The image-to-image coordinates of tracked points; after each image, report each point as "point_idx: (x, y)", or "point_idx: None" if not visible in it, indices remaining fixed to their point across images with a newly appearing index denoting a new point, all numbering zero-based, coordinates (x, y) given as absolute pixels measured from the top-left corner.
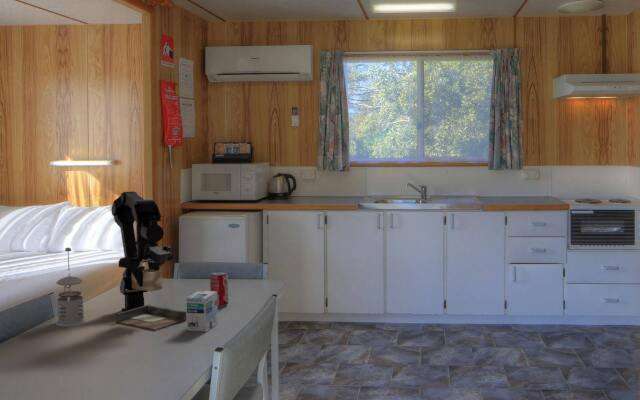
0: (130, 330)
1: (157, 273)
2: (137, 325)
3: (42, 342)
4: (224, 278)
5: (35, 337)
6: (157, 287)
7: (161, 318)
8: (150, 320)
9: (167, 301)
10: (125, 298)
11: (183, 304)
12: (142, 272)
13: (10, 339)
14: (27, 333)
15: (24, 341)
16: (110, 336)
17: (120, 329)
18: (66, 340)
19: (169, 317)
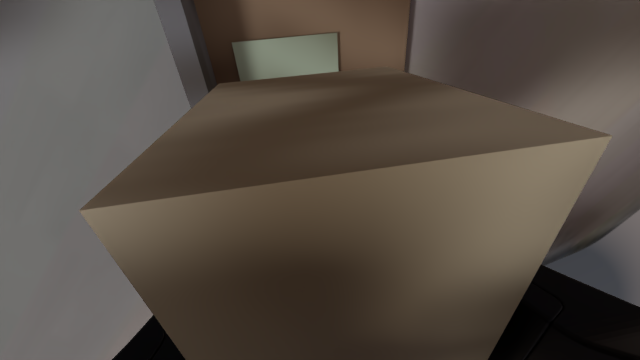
0: (454, 34)
1: (312, 152)
2: (404, 56)
3: (632, 155)
4: None
5: (585, 207)
6: (296, 80)
7: (260, 57)
8: (319, 72)
9: (84, 284)
10: None
11: (27, 215)
12: (546, 313)
13: (605, 229)
14: (554, 245)
15: (622, 195)
16: (553, 27)
17: (455, 87)
18: (612, 119)
19: (211, 45)
